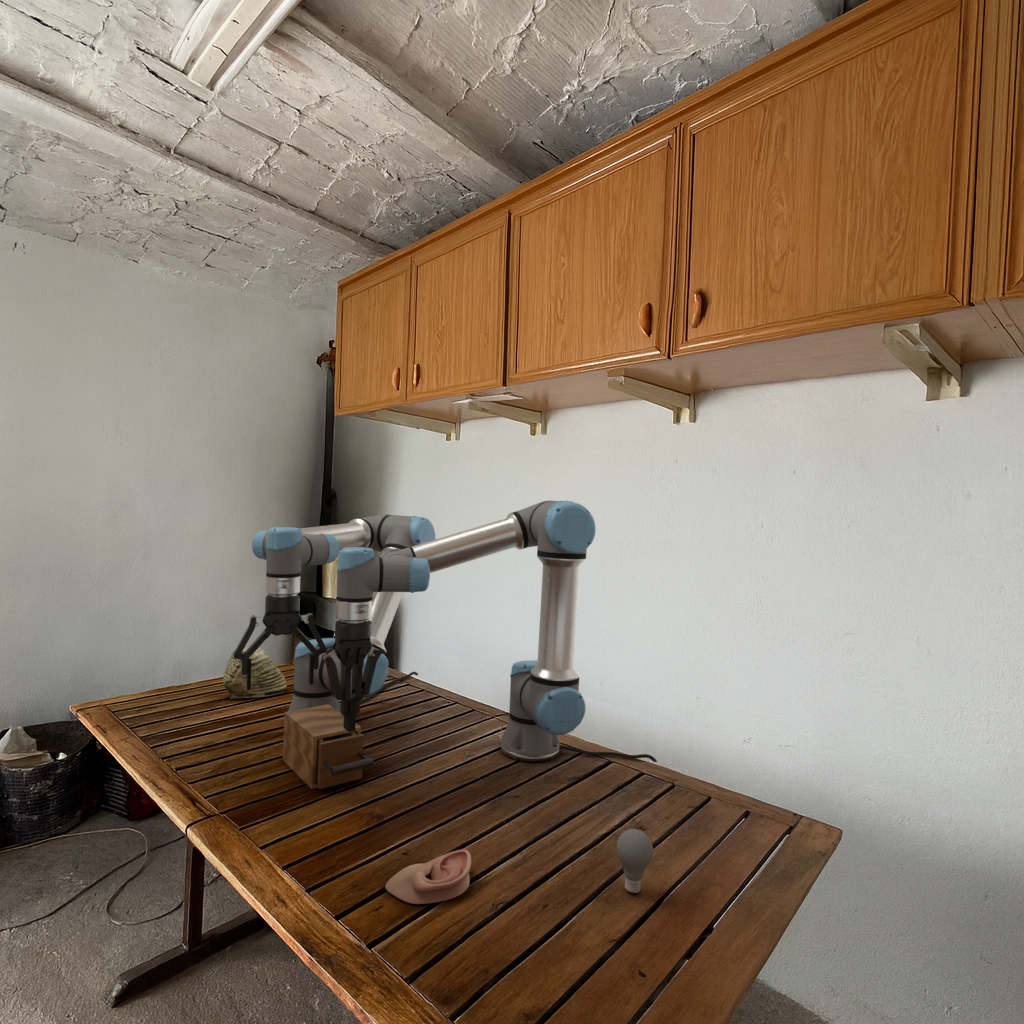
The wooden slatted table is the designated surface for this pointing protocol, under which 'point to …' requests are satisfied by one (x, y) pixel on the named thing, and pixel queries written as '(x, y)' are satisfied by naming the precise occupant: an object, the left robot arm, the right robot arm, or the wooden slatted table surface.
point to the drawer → (340, 759)
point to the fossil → (254, 677)
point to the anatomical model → (432, 879)
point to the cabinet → (309, 738)
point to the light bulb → (634, 857)
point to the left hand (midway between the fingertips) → (280, 685)
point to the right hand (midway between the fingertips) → (349, 729)
